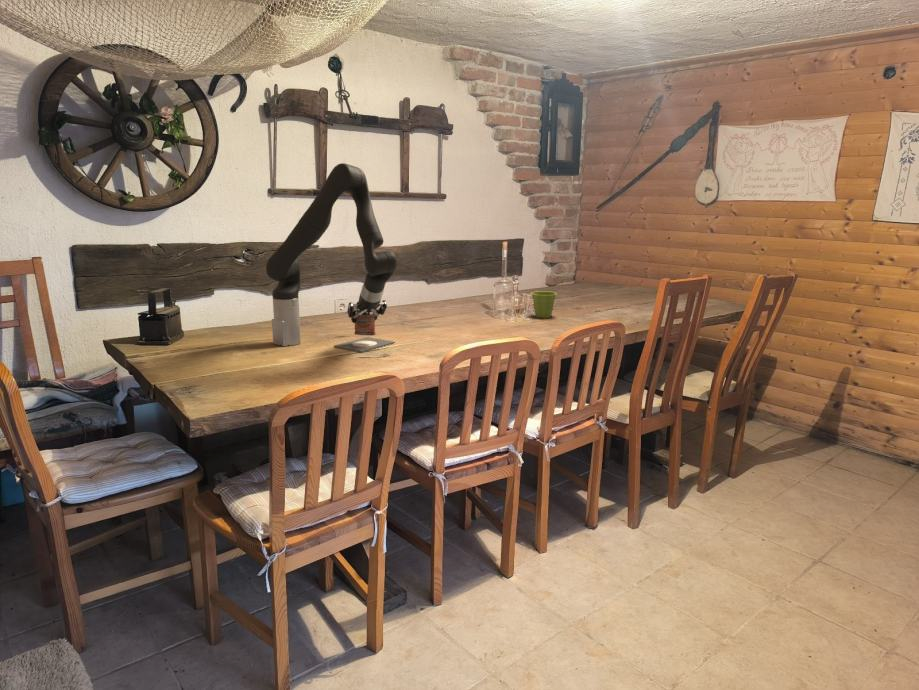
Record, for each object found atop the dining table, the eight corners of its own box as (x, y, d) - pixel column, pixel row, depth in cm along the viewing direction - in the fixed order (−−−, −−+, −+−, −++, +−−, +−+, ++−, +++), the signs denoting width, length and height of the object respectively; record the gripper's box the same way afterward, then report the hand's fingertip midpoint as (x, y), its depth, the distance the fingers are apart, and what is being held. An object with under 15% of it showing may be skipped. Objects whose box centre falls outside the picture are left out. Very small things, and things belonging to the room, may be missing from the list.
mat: (361, 352, 222) (361, 351, 222) (333, 347, 230) (333, 345, 230) (395, 343, 236) (394, 341, 236) (367, 338, 244) (367, 336, 244)
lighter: (353, 334, 231) (352, 307, 229) (356, 332, 234) (355, 306, 232) (373, 335, 229) (372, 308, 227) (376, 333, 233) (376, 307, 230)
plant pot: (542, 313, 298) (543, 290, 295) (561, 317, 289) (562, 293, 286) (524, 316, 290) (525, 292, 288) (543, 320, 282) (544, 295, 279)
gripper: (388, 283, 224) (379, 310, 237) (349, 286, 218) (342, 313, 231) (393, 300, 220) (384, 327, 233) (353, 303, 214) (346, 330, 228)
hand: (363, 320), depth 232 cm, fingers closed on lighter, 7 cm apart
